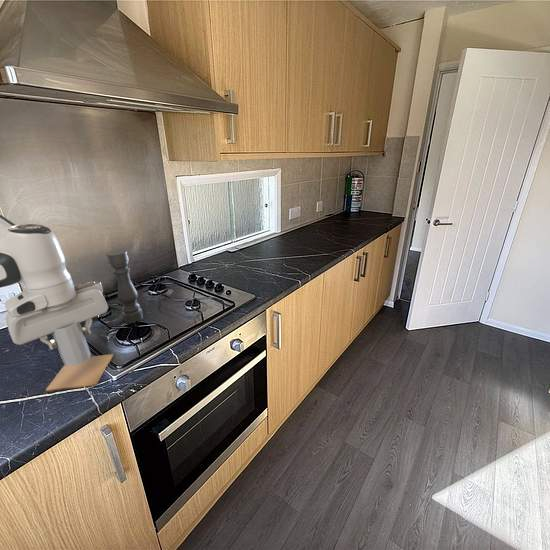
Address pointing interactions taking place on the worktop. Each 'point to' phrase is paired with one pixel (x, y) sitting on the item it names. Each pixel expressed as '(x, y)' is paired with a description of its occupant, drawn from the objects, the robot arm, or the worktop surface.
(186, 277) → the worktop surface
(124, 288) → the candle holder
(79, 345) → the cup
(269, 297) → the worktop surface
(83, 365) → the mat
